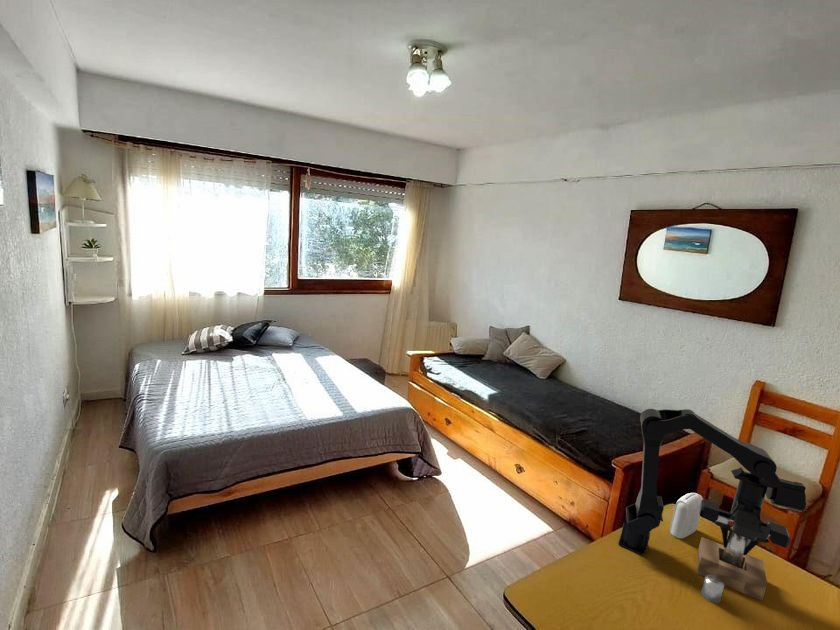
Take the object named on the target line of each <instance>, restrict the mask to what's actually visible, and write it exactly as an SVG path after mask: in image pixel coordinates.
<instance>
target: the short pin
mask: <svg viewBox="0 0 840 630" xmlns="http://www.w3.org/2000/svg"><path fill="white" fill-rule="evenodd" d="M724 588H725V585H724V583H723V581H722V580H721V579H719V578H718V577H716V576H713V575H706V576H705V577H704V581H703V585H702V587H701V591H700V593H701V596H702V597H703V598H704V599H705V600H707V601H708V602H710V603H713V604H719V603H721V598H722V596H723V591H724Z"/></svg>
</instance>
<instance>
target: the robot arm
mask: <svg viewBox="0 0 840 630" xmlns="http://www.w3.org/2000/svg"><path fill="white" fill-rule="evenodd" d="M639 417H640V418H639V420H640V426H641V433H642V439H643V449H642V451H643V452H642V465H641V466H642V467H641V482H640V483H641V484H640V485H641V486H640V489H639V492H638V495H637V497H636V500H635V503H633V504H630V505H628V506H626V507H625V513H626V514H625V515H626V516H625V517H624V519H623V520H624V521H623V525H622V529H621V534H620V536H619V541H618V543H617V544H618V545H619V546H620V547H622V548H625V549H628V550H630V551H632V552H634V553H637V554H639V555H642V556H643V555H644V554H645V551H647V550H648V545H649V542H650V536H651V533H650V532H652V531H653V530H654V529H656V528H659V527H660V524H661V522H662V523H663V522H664V517H663V512H664V509H665V506H664V503H663V498H662V496H661V495H657V492H658V475H659V462H660V448H661V446H662V444H663V441H664V438H665V435H667V434H675V433H677V432H680V431H683V430H691V431H692V432H693V433H695V434H697V435H698V436H700V437H702V438H703V439H705V440H707V441H708V442H710V443H711V444H713V445H714V446H716V447H718V448H719V449H720V450H723V452H726V453H727V454H729V455H730V456H731V457H732V458H734V459H735V461H737V462H738V463H739V464H740V465H741V466H742V467H739V468H735V469H732V470H731V471H730V472H731V474H732V476H733V478H734V480H738V484H737V487H736V491H735V495H734V498H733V501H732V505H731V510H730V511H726V510H724V509H720V504H719V503H718V502H715V501H712V500H709V499H705V498H703V500H701V503H700V518H703V519H706V520H709V521H712V522H714V523H715V525H716V526H718V527H719V529H720V530H721V536H722V545H724V547H725V548H726V545H727V539H728V535H729V531H730V528H729V527H730V526H729V525H730V524H729V522H732V523H733V525H732V527H733V532H734V533H735V534H736V535H738V536H743V537H745V538H748V541H747V545H746V548H745V551H744V555H749V553H750V552H751V551H752V550H753V549H754V548H755V546H758V544H761V543H763V544H769V542H771V543H772V544H773V545H777V546H778V547H779V546H780V547H782V548H785V549H787V548H789V545H790V542H791V536H790V534H789V531H788V529H787V528H786V526H785V525H782V524H781V525H780V524H778V523H775V522H772V521H768V522H767V523H766V522H764V521H763V520H761V512H762V507H763V505H764V501H765V497H766V499H768V500H769V502H770V503H771V504H772V505H775V506H778V507H781V508H784V509H787V510H793V511H796V512H799V513H802V512H804V510H805V509H806V507H807V499H806V498H807V497H806V496H807V495H806V492H805V491H806V486H805V485H804V484H803V483H802V482H798V481H792V480H788V479H784V478H780V477H779V476H778V474H776V472H777V468H778V467H777V464H776V462H775V460H773V458H772V457H771V456H770V455H769V453H768V452H767V451H766V450H764V449H763V448H761V447H758V446H757V445H754V444H753V443H751V442H745V441H742V440H740V439H737V438H735V437H734V436H732V435H731V434H729V433H727V432H726V431H724V430H723V429H721V428H719V427H718V426H716V425H714V424H713V423H711V422H710V421H708V420H707V419H705V418H703V417H701V416H700V415H698V414H697V413H696V412H695V411H693V410H692V409H690V408H689V409H687V408H685V409H666V408H665V409H654V408H647V409H645V410H643V411H641V413H640V416H639ZM744 468H745V470H746V471H745V470H744ZM747 471H748V472H747ZM769 540H770V541H769Z"/></svg>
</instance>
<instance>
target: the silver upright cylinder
mask: <svg viewBox="0 0 840 630" xmlns="http://www.w3.org/2000/svg"><path fill="white" fill-rule="evenodd" d="M747 541H748V538H745V537H743V536H738V535H736V534H735V533H734V532H733V526H731V527H730V528H729V531H728V537H727V545H726V548H725V550H724V553H723V557H722V560H723V561H724V562H726V563H728V564H731V565H733V566H736V567H738V568H739V567H740V565H741V562H742V558H743V555H744V551H745V548H746V545H747Z"/></svg>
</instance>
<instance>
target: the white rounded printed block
mask: <svg viewBox="0 0 840 630" xmlns="http://www.w3.org/2000/svg"><path fill="white" fill-rule="evenodd" d="M703 499H704V498H703V496H702V495H701V494H698V493H696V492H690V493H689V492H688V493H686V494H685V495H683V496H681V497H680V498H679V499H678V500H677V501H676V503H675V506H674V509H673V510H674V511H673V514H672V518H671V522H670V526H669V527H670V528H669V532H670V534H671V535H672V536H673V537H675V538H677V539H685V538H687V537H688V536H690V535H692V534H694V533H695V532H696V531H697V528H698V525H699V521H700V518H701V516H700V503H701V500H703Z"/></svg>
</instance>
